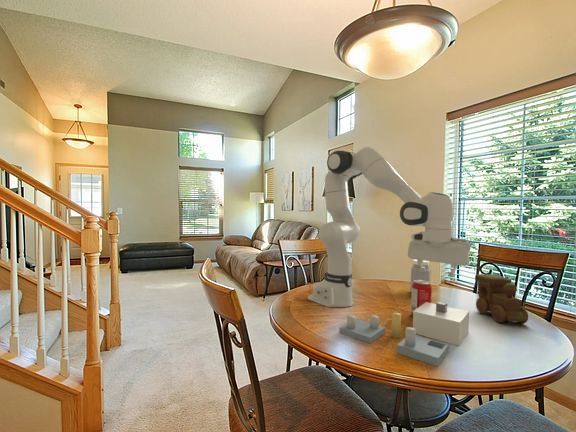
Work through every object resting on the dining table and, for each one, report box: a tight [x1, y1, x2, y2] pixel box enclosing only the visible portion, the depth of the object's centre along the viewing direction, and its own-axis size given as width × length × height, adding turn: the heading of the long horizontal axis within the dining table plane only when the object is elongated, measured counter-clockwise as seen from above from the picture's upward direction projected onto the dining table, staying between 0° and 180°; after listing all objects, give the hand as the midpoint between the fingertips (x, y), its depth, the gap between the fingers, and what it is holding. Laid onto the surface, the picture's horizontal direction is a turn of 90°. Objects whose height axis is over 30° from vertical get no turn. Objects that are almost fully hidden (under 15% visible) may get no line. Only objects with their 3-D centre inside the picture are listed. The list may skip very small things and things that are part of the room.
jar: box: [410, 259, 432, 293], centre depth 162 cm, size 10×10×18 cm
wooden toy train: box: [474, 273, 529, 324], centre depth 127 cm, size 20×11×17 cm, turn 0°
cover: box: [412, 301, 470, 347], centre depth 110 cm, size 15×15×11 cm
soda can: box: [410, 280, 433, 316], centre depth 126 cm, size 8×8×15 cm
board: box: [338, 314, 386, 344], centre depth 108 cm, size 12×12×6 cm
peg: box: [391, 312, 402, 339], centre depth 106 cm, size 3×3×8 cm
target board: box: [396, 326, 450, 367], centre depth 94 cm, size 12×12×8 cm
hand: (436, 274), depth 109 cm, fingers open, 8 cm apart
